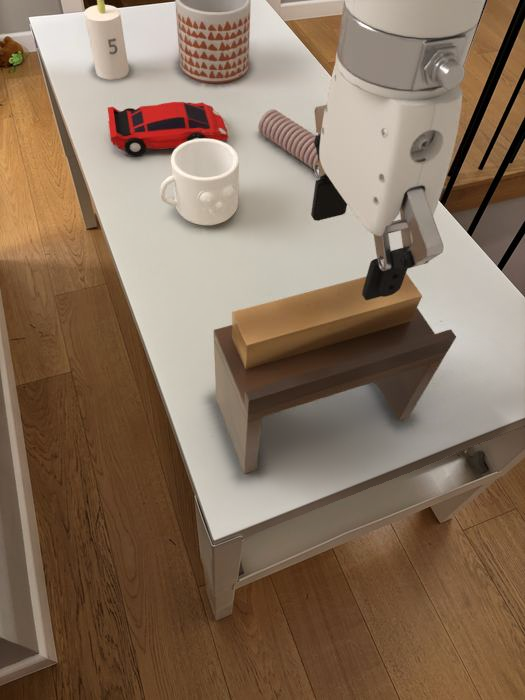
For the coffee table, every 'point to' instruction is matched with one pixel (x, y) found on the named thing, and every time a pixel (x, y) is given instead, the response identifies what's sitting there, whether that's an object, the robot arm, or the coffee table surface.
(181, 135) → the toy car
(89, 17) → the candle
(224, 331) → the shelf
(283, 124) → the coil
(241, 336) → the stick
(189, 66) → the planter
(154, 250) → the coffee table surface
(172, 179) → the mug
